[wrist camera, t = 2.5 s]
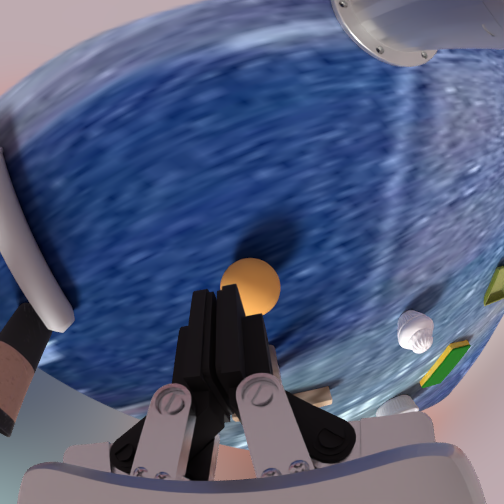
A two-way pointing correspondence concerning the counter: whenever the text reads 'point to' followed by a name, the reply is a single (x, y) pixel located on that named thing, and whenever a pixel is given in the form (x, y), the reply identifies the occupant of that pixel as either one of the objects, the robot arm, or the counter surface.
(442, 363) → the dish sponge
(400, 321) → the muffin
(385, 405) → the ramekin
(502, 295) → the olive square dish
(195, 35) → the counter surface
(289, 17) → the counter surface
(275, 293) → the ball
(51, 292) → the tube
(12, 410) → the travel mug
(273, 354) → the birch pin
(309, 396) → the rail
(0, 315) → the counter surface
